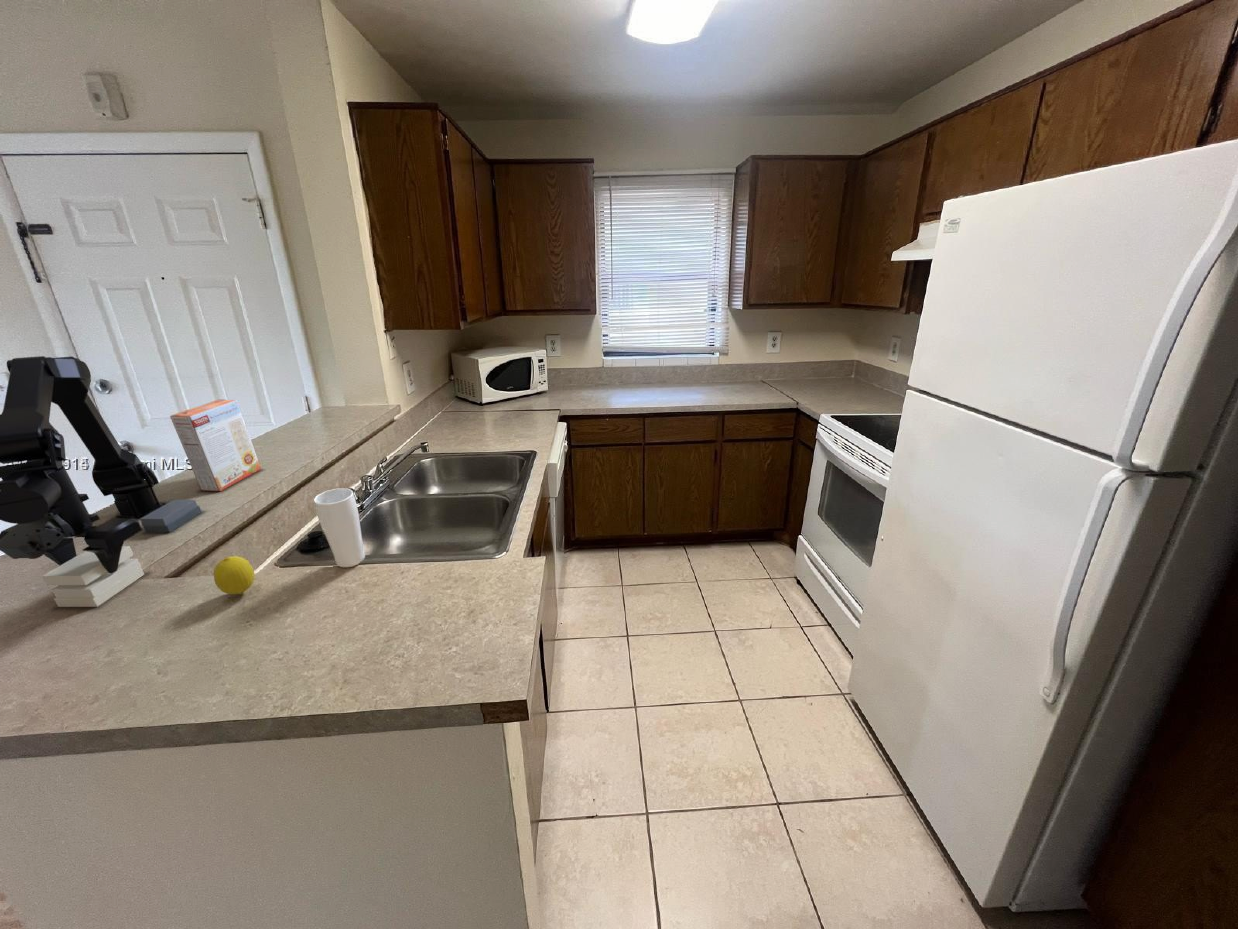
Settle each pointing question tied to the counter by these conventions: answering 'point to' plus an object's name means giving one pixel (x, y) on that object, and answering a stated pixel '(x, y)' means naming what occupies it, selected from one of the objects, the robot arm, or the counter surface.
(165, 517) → the grey books
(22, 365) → the robot arm
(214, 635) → the counter surface
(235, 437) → the cracker box
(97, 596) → the ivory books
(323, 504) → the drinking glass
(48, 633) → the counter surface
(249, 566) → the lemon
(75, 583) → the ivory book
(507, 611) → the counter surface
